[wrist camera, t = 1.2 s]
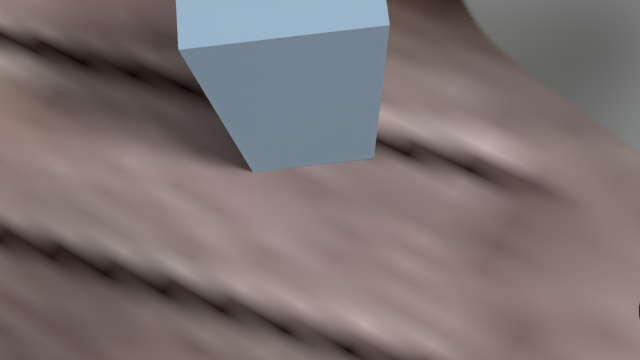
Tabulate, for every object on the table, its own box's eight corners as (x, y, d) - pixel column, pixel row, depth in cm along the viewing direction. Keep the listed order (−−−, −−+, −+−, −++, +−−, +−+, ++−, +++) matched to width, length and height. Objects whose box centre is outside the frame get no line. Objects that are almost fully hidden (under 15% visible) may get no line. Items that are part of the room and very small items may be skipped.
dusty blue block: (373, 158, 23) (389, 24, 13) (252, 171, 23) (178, 49, 13) (359, 47, 24) (364, -152, 14) (244, 61, 24) (169, -128, 14)
